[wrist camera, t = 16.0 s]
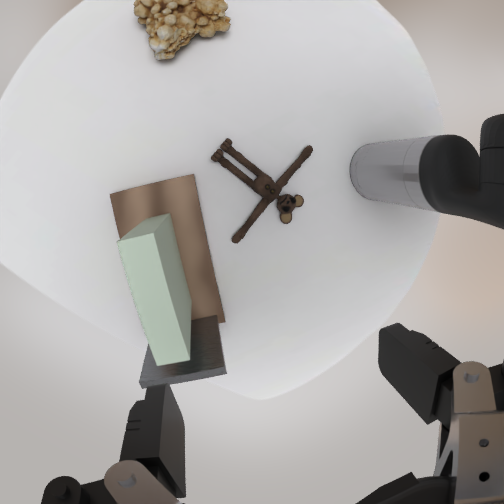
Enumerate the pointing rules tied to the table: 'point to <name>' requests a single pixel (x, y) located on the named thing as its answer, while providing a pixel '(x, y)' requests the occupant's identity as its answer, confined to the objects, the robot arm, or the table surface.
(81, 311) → the table surface
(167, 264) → the sage book
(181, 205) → the walnut shelf board
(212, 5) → the mineral formation
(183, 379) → the grey metal bookend
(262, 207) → the wooden monkey figure
